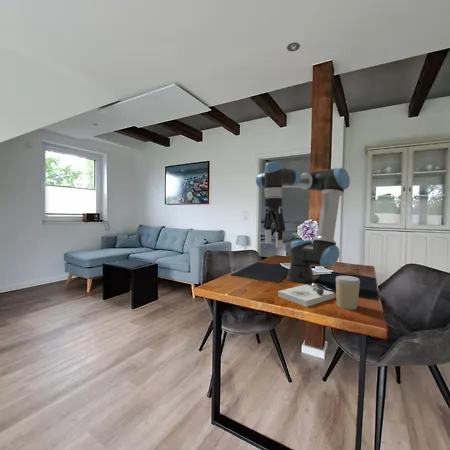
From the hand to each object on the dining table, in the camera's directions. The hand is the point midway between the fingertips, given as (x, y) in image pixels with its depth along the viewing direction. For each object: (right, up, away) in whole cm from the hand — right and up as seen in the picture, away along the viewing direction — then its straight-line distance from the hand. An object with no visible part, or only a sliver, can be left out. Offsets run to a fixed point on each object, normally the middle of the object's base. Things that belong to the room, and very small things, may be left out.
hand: (273, 245), depth 114 cm
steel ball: (+21, -20, +8) cm, 30 cm away
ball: (+21, -21, 0) cm, 29 cm away
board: (+16, -25, +4) cm, 30 cm away
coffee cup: (+30, -25, -7) cm, 40 cm away
